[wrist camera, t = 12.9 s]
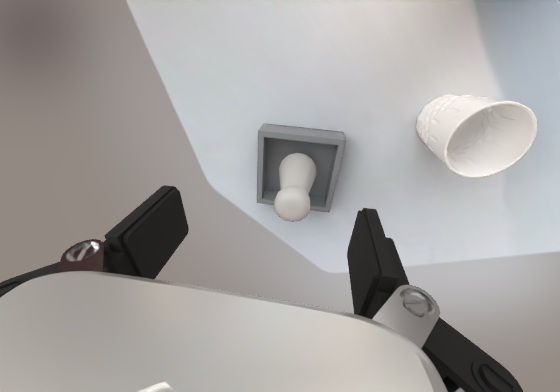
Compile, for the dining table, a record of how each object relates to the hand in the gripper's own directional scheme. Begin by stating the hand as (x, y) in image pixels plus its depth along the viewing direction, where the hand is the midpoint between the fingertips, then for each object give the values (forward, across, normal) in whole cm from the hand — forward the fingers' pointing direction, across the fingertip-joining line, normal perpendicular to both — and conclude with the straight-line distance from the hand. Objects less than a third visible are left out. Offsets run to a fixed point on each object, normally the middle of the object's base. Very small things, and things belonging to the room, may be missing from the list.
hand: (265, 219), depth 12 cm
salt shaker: (+25, 0, +8) cm, 26 cm away
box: (+26, 0, +8) cm, 27 cm away
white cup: (+26, -19, 0) cm, 33 cm away
